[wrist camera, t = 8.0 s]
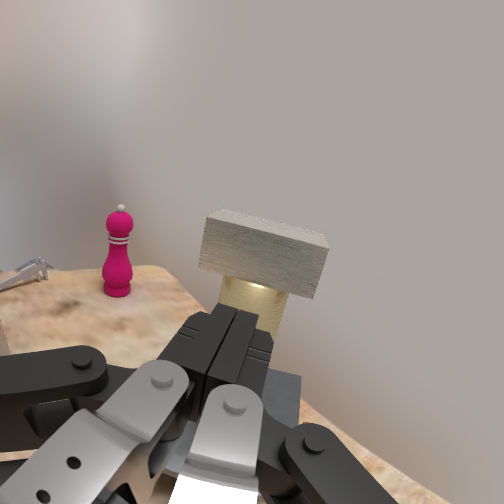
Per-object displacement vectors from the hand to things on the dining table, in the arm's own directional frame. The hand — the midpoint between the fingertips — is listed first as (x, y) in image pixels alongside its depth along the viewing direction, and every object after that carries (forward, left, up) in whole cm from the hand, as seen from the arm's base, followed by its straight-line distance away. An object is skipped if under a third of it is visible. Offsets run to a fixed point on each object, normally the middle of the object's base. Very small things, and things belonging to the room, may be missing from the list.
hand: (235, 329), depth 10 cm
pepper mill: (+26, +44, -28) cm, 58 cm away
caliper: (+3, +58, -28) cm, 64 cm away
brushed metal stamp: (+10, +4, -19) cm, 22 cm away
